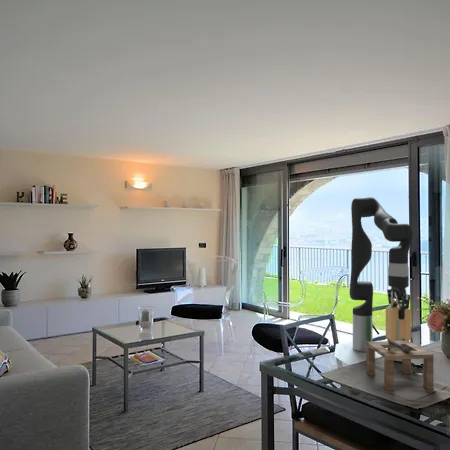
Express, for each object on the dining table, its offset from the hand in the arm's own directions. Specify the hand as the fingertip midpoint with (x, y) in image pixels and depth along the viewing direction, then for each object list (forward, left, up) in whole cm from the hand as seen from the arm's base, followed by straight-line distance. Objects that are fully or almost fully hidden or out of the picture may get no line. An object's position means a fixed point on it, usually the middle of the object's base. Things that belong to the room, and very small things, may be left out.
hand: (398, 317), depth 165 cm
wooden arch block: (0, 0, -8) cm, 8 cm away
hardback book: (-27, +15, -25) cm, 40 cm away
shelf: (0, 0, -25) cm, 25 cm away
